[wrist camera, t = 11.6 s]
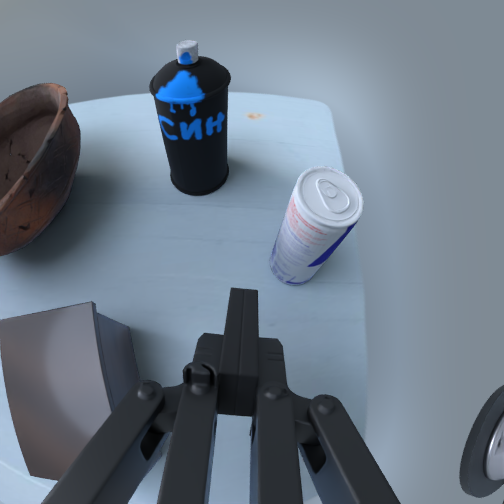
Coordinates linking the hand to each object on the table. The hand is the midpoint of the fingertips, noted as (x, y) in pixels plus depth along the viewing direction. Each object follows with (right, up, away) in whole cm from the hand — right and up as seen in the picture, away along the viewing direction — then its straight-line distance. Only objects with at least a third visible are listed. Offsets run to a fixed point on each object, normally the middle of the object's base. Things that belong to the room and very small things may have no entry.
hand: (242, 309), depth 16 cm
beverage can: (+5, +2, +18) cm, 19 cm away
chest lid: (-17, -10, +2) cm, 20 cm away
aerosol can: (-7, +14, +22) cm, 28 cm away
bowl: (-33, +11, +19) cm, 39 cm away
